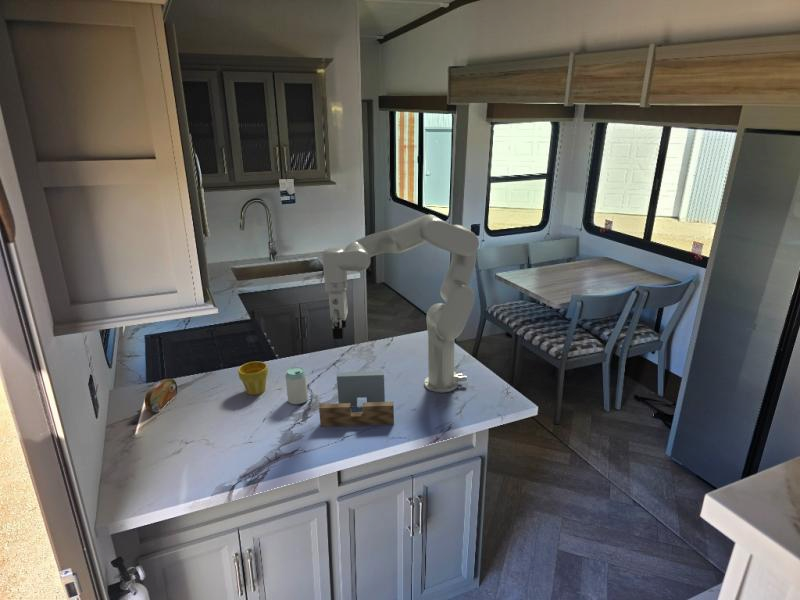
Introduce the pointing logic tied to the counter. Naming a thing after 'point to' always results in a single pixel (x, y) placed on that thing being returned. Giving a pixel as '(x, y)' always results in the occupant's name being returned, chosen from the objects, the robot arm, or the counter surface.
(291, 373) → the can
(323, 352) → the counter surface
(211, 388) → the counter surface
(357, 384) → the plain grey board
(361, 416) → the walnut slotted board
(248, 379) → the plant pot
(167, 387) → the tin
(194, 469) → the counter surface
